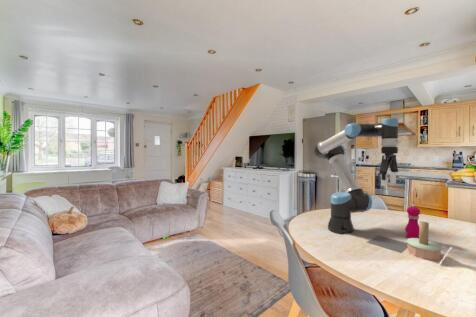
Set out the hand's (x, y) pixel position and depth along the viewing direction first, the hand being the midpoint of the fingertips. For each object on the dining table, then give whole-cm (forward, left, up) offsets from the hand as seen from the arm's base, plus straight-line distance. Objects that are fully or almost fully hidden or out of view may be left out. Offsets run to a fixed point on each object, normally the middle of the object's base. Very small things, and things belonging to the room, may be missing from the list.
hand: (388, 184), depth 123 cm
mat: (+2, -5, -32) cm, 32 cm away
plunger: (+17, -6, -27) cm, 32 cm away
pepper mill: (+8, +14, -32) cm, 36 cm away
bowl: (+17, -6, -32) cm, 36 cm away
